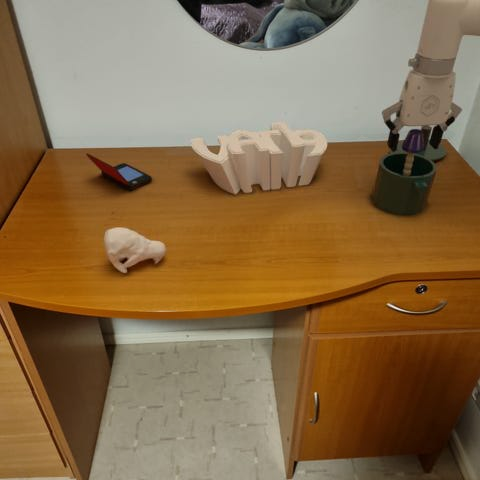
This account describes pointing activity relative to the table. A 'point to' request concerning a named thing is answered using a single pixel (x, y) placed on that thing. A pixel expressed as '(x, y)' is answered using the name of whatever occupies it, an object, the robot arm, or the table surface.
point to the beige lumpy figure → (131, 248)
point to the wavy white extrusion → (263, 158)
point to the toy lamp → (412, 148)
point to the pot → (403, 184)
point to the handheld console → (122, 173)
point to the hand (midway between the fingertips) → (412, 147)
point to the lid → (427, 146)
